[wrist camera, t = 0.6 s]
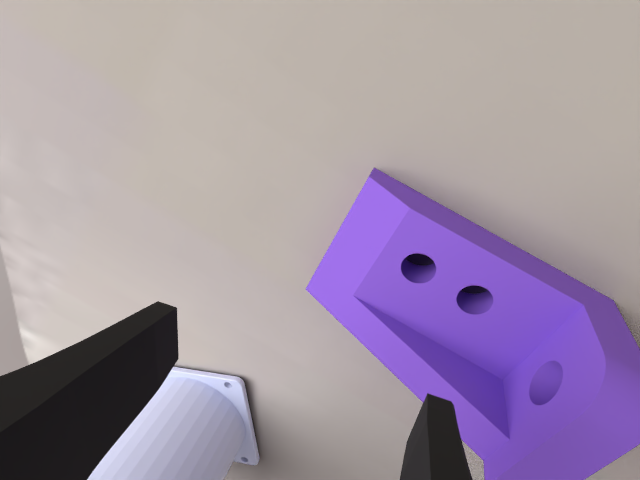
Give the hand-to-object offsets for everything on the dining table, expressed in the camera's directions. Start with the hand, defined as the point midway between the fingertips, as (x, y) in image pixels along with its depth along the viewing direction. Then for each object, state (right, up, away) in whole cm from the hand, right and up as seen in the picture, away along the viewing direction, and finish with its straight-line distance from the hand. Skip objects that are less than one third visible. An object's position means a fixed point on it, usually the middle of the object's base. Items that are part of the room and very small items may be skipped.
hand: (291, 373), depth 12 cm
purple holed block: (+7, +2, +9) cm, 12 cm away
